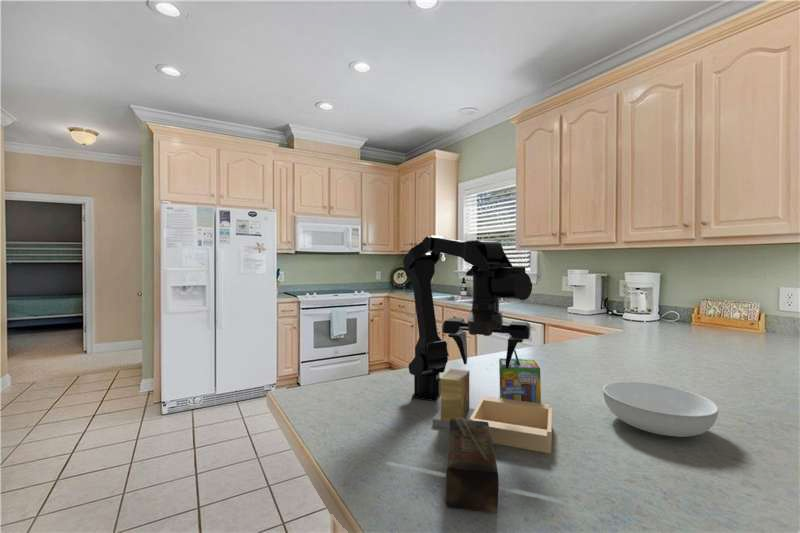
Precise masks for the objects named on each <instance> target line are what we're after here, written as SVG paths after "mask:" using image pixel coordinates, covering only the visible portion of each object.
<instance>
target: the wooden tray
mask: <svg viewBox="0 0 800 533" xmlns="http://www.w3.org/2000/svg"><path fill="white" fill-rule="evenodd" d="M549 406H550V405H549V404H548V403H547V404H546V403H541V404H540V403H533V402H525V401H518V400H510V399H503V398H500V397H496V396H495V397H494V396H487V395H486V396H484V398H480V399H479V401H478V403H477V405H476V406H475V408H474V409H475V410H474V412H473V414H472V416H471V417H470V420H471V421H484V422H488V424H489V430H490V434H491V439H492V443H493V444H495V445H502V446H506V447H507V446H508V447H512V448H518V449H523V450H528V451H535V452H542V453H546V454H552V437H553V435H552V434H553V408H552V407H549Z"/></svg>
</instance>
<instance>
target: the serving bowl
mask: <svg viewBox="0 0 800 533" xmlns="http://www.w3.org/2000/svg"><path fill="white" fill-rule="evenodd" d="M602 392H603V398H604V402H605V404H606V406H607V407H608V408H609V410H610V412H611V413H612V414H613V415H614V416H616V417H617V418H618V419H619V420H621V421H622V422H623V423H625V424H627V425H630V426H632V427H634V428H637V429H639V430H642V431H645V432H649V433H651V434H655V435H661V436H669V437H670V436H671V437H678V438H679V437H682V438H684V437H694V436H698V435H701V434H704V433H705V432H707V431H709V430H710V429H711V428H713V426H714V425H715V423H716V422H717V419H718V415H719V407H718V406H717V404H716V403H715V402H713V401H711V400H710V399H709V398H707V397H704V396H702V395H700V394H697V393H694V392H691V391H688V390H685V389H681V388H679V387H674V386H669V385H665V384H659V383H654V382H653V383H652V382H645V381H631V380H630V381H627V380H626V381H625V380H624V381H614V382H610V383H606V384H605V385H604V386H603V387H602Z"/></svg>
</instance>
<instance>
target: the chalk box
mask: <svg viewBox="0 0 800 533" xmlns="http://www.w3.org/2000/svg"><path fill="white" fill-rule="evenodd" d="M513 354H514V356H515V358H511V361H510V364H509V367H508V369H506V358H499V360H498V362H499V363H498V366H499V370H498V371H499V372H498V373H499V398H503V399H510V400H518V401H525V402H533V403H540V404H542V392H541V391H542V390H541V388H542V386H541V382H542V381H541V368H540V366H539V365H538V363H537V362H536V360H534V359H526V358H525V359H524V358H523V359H522V358H519V357H518V355H517V354H518V353H517V350H516V348H515V349H514V352H513Z"/></svg>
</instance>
